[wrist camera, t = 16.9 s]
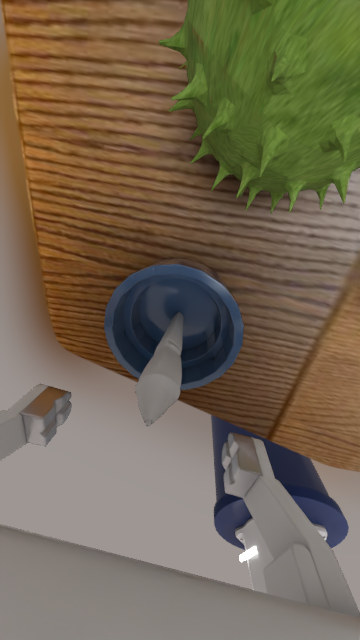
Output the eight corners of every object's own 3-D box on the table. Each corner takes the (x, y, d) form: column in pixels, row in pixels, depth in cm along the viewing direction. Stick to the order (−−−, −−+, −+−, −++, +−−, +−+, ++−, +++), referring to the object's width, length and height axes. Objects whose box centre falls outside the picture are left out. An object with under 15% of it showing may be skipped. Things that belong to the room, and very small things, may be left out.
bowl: (243, 342, 23) (257, 373, 17) (153, 366, 26) (140, 400, 20) (213, 238, 19) (219, 238, 13) (109, 281, 22) (78, 295, 16)
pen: (194, 314, 21) (186, 426, 8) (179, 329, 22) (151, 450, 9) (177, 300, 21) (142, 396, 8) (163, 316, 22) (111, 425, 9)
